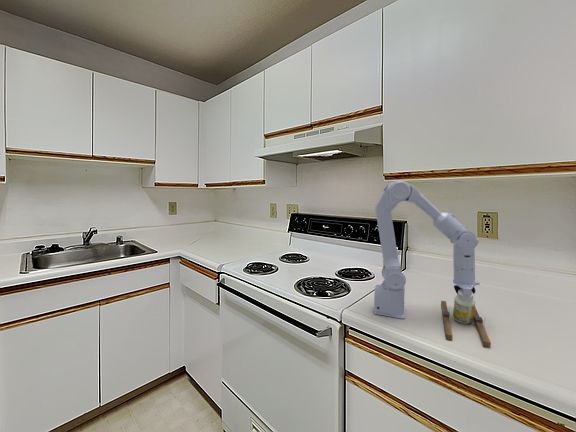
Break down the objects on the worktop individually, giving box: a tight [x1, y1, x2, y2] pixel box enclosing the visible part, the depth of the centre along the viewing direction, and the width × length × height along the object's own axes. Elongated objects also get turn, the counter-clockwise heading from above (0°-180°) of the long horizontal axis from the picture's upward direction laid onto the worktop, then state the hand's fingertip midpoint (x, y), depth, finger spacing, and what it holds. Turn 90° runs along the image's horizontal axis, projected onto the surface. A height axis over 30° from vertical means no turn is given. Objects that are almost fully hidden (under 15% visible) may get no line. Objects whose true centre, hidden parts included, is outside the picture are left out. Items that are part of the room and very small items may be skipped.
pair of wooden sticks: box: [440, 300, 492, 349], centre depth 85 cm, size 10×26×2 cm, turn 154°
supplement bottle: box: [452, 289, 476, 325], centre depth 85 cm, size 5×5×10 cm
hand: (464, 309), depth 88 cm, fingers closed, pressing on supplement bottle
